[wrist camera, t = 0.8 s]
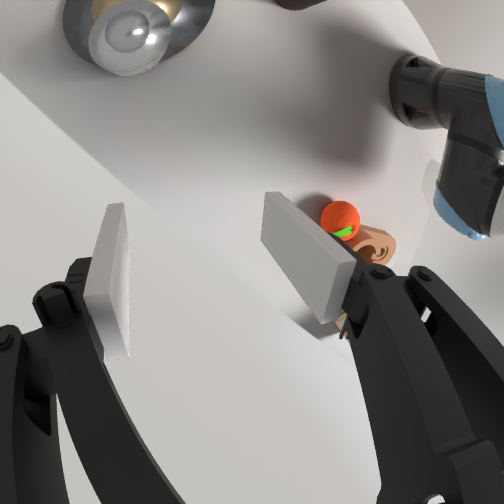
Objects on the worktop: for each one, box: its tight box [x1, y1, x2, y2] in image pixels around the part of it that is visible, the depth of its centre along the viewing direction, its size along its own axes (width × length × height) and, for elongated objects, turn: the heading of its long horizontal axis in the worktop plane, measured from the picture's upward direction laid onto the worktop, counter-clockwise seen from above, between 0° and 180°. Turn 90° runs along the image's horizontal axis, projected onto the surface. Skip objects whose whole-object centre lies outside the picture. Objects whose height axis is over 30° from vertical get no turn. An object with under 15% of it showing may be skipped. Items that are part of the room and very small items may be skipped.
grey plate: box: [63, 0, 215, 66], centre depth 23 cm, size 20×20×1 cm
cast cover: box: [88, 0, 171, 76], centre depth 22 cm, size 9×9×9 cm
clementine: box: [320, 201, 360, 241], centre depth 48 cm, size 8×7×7 cm
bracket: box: [344, 225, 396, 266], centre depth 55 cm, size 18×8×7 cm, turn 71°
